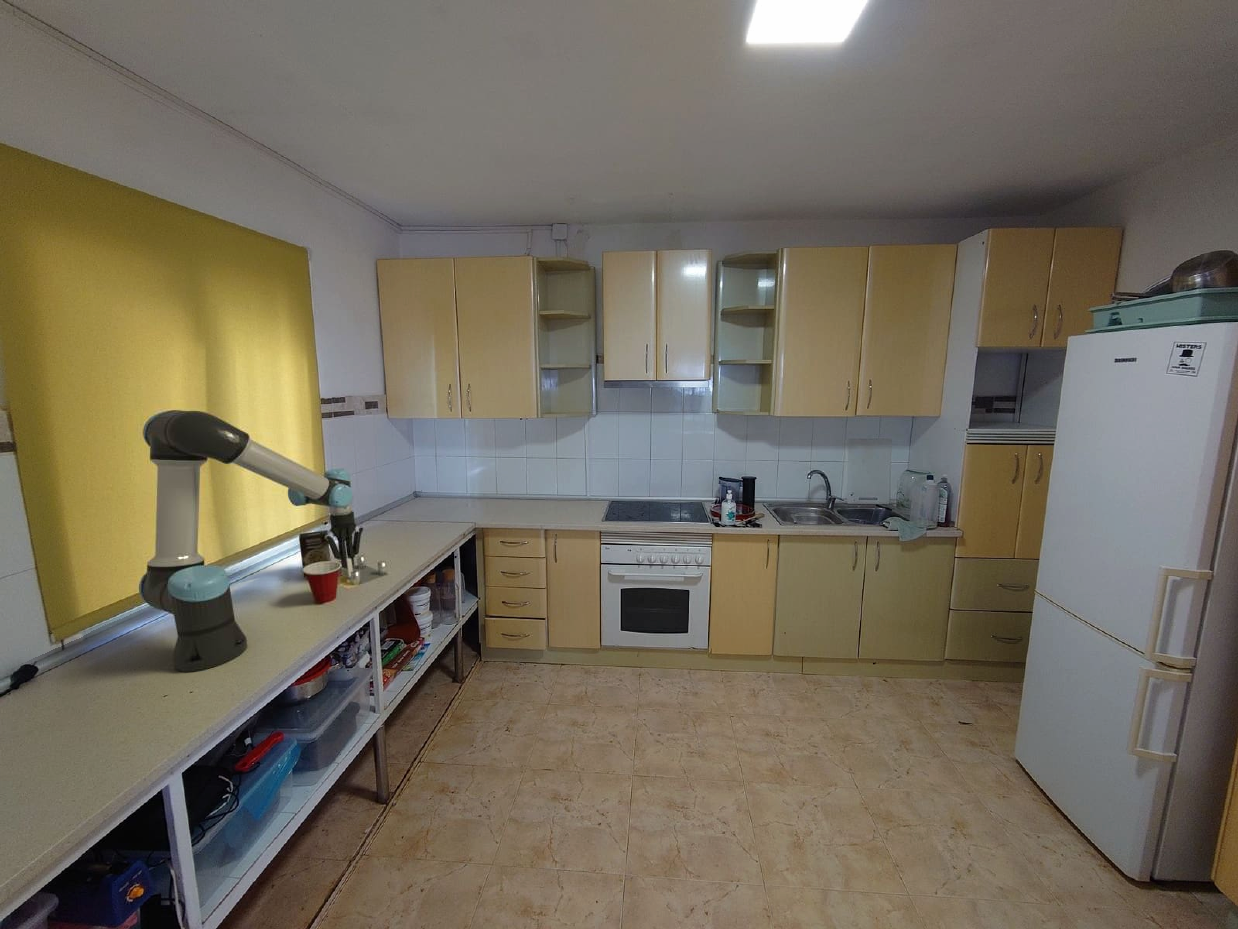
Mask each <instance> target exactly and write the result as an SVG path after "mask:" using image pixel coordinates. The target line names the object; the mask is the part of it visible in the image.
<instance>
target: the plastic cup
mask: <svg viewBox="0 0 1238 929" xmlns="http://www.w3.org/2000/svg"><path fill="white" fill-rule="evenodd" d="M338 562H339V561H332V560H331V561H323V562H317V563H313V564H310V565H308V566H306V567H304V568H303V567H302V573H303V572H304V573H305V575H306V577H307V579H306V580H307V582H308V584H309V585H308V586H309V588H310V591H311V594H312V595H313V598H314V601H315V604H317V605H324V604H326V603H330V602H332V601H334V600H335V599H336V598H337V594H338V593H337V592H338V591H337V590H338V585H337V584H338V574H339V569H340V567H341V564H340V563H338Z"/></svg>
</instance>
